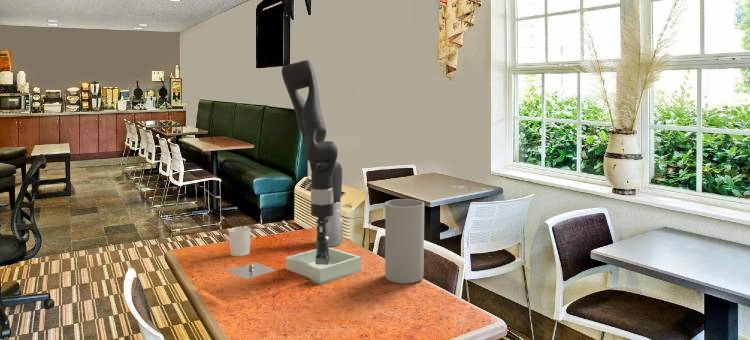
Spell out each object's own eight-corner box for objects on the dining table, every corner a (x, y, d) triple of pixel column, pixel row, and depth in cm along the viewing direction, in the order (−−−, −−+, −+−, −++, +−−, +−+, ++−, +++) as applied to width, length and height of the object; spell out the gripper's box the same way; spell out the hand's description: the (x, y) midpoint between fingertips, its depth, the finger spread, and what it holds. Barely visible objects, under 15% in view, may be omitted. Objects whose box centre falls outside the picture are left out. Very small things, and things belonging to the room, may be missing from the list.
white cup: (225, 257, 197) (223, 231, 196) (238, 251, 205) (237, 226, 203) (242, 260, 194) (241, 233, 193) (255, 254, 202) (254, 228, 200)
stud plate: (256, 265, 188) (256, 256, 188) (276, 273, 180) (276, 264, 180) (225, 273, 180) (225, 264, 179) (245, 282, 172) (245, 272, 171)
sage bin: (325, 259, 195) (325, 246, 194) (361, 271, 182) (360, 256, 182) (285, 271, 182) (285, 257, 181) (320, 284, 169) (320, 269, 169)
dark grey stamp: (316, 260, 184) (317, 234, 182) (329, 260, 184) (329, 234, 182) (315, 264, 180) (315, 237, 178) (328, 264, 180) (328, 238, 178)
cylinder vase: (412, 287, 167) (412, 208, 164) (377, 280, 174) (377, 204, 170) (429, 275, 178) (430, 201, 174) (396, 269, 184) (397, 197, 181)
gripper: (312, 197, 186) (313, 245, 188) (308, 205, 171) (309, 257, 174) (334, 197, 186) (335, 245, 188) (332, 205, 172) (332, 257, 174)
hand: (322, 250), depth 181 cm, fingers closed on dark grey stamp, 4 cm apart
